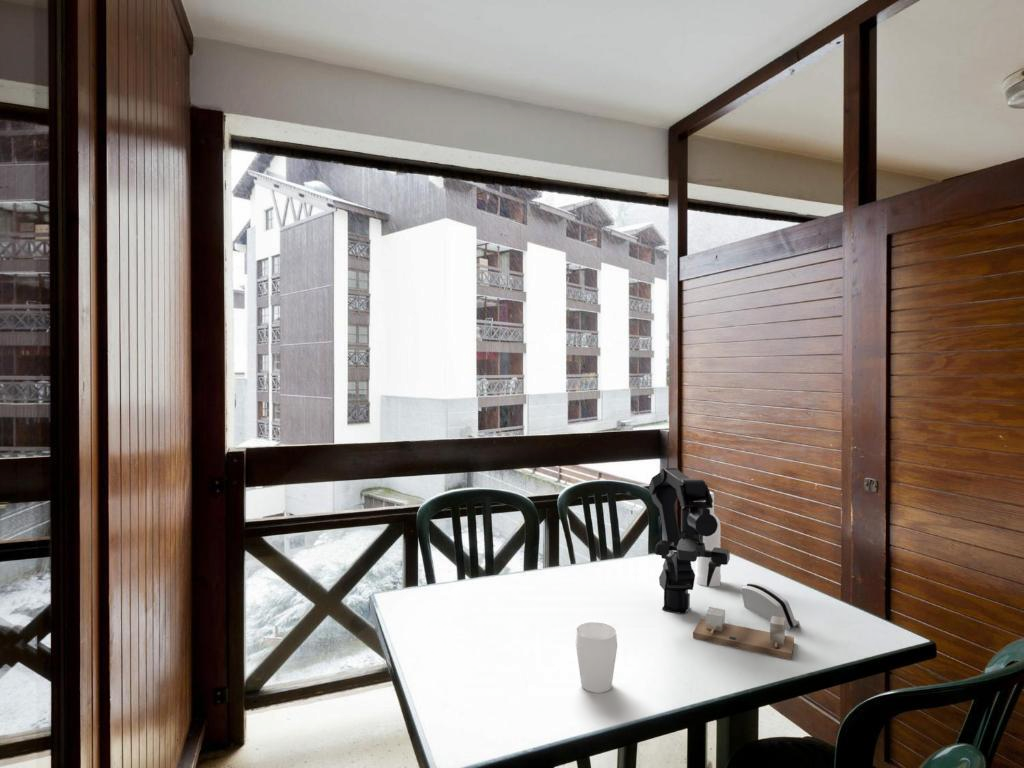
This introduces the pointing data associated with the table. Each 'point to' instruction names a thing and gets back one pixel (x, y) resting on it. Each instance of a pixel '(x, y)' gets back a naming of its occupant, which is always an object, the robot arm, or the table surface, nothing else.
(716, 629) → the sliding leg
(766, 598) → the light grey curved piece
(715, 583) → the bottle
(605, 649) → the cup
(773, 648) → the hole board
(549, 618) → the table surface
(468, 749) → the table surface
